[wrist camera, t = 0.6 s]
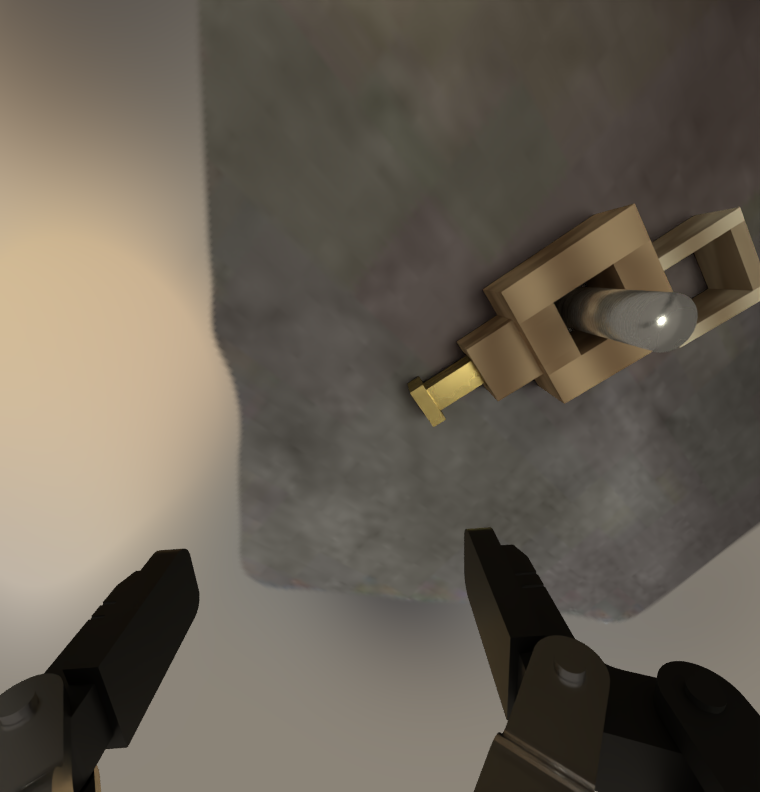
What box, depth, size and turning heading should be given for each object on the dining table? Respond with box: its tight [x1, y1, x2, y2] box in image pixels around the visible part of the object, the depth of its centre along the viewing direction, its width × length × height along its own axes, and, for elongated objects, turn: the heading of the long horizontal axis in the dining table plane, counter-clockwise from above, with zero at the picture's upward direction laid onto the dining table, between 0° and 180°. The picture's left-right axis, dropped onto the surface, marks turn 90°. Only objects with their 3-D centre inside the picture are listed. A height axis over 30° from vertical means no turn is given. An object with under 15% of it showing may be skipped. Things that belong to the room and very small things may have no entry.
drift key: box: [408, 356, 485, 427], centre depth 32 cm, size 8×4×3 cm, turn 124°
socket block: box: [457, 204, 673, 404], centre depth 30 cm, size 14×10×5 cm
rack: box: [652, 207, 760, 348], centre depth 30 cm, size 7×7×4 cm
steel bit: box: [553, 287, 698, 352], centre depth 26 cm, size 3×3×12 cm
